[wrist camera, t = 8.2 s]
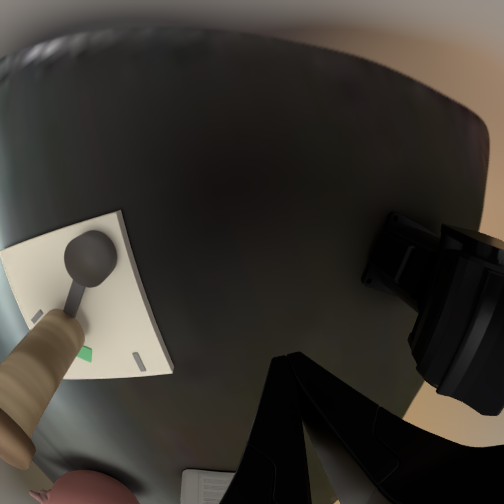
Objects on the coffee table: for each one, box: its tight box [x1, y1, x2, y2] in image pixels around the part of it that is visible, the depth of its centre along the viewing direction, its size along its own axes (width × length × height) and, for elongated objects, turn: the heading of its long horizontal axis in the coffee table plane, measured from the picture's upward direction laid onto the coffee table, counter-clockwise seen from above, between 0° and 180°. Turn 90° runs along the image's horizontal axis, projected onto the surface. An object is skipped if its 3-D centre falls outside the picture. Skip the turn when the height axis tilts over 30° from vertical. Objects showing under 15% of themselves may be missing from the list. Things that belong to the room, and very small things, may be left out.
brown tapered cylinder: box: [0, 230, 117, 470], centre depth 12 cm, size 11×5×14 cm, turn 146°
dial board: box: [0, 210, 174, 379], centre depth 20 cm, size 14×14×1 cm
